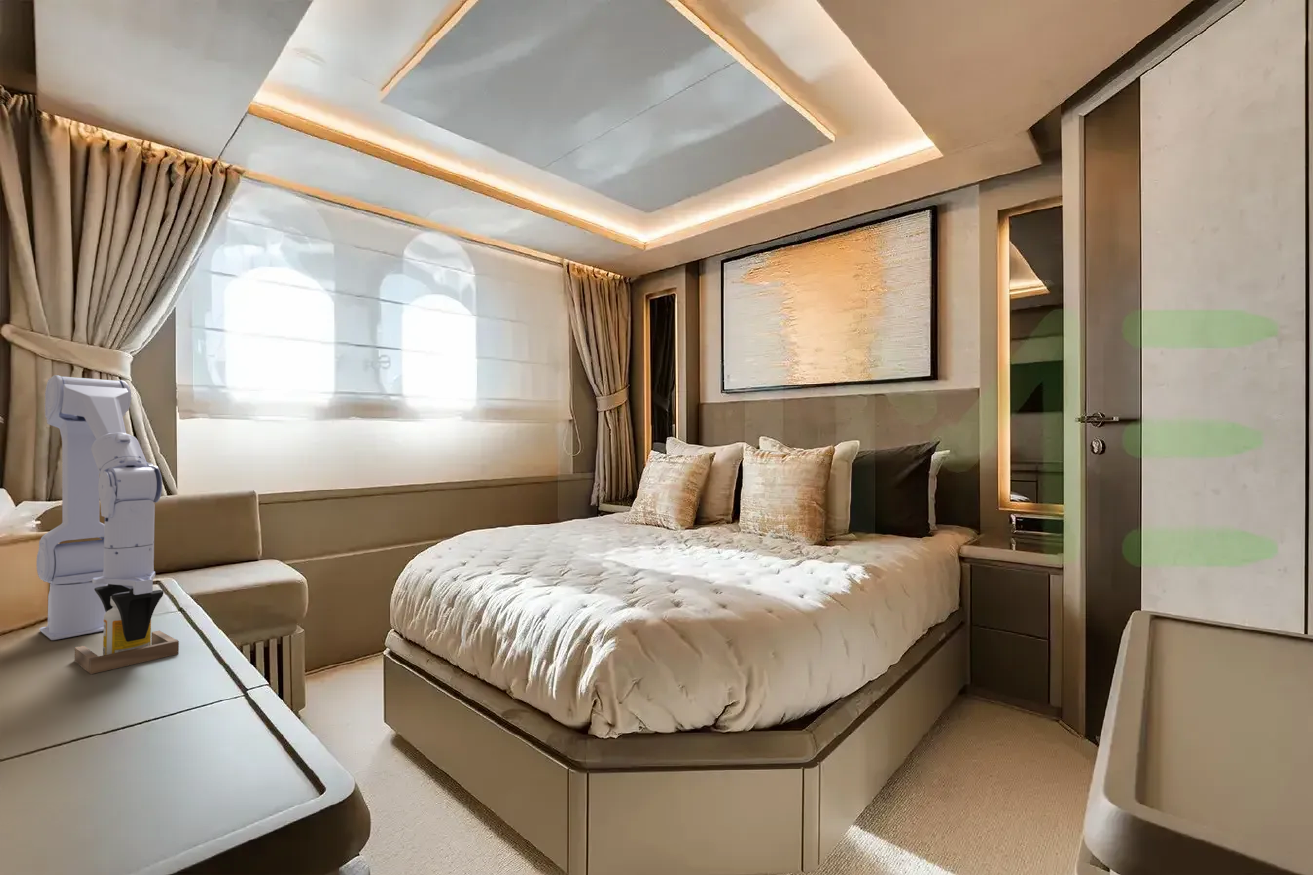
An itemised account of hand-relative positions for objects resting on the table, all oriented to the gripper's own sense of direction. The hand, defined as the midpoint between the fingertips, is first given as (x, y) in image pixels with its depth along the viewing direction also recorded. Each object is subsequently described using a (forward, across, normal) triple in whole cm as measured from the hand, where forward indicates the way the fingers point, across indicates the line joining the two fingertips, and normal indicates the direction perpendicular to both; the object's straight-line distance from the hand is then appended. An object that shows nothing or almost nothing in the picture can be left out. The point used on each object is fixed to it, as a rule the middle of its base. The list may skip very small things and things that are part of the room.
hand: (127, 634), depth 89 cm
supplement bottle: (+4, 0, 0) cm, 4 cm away
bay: (+3, 0, 0) cm, 3 cm away
